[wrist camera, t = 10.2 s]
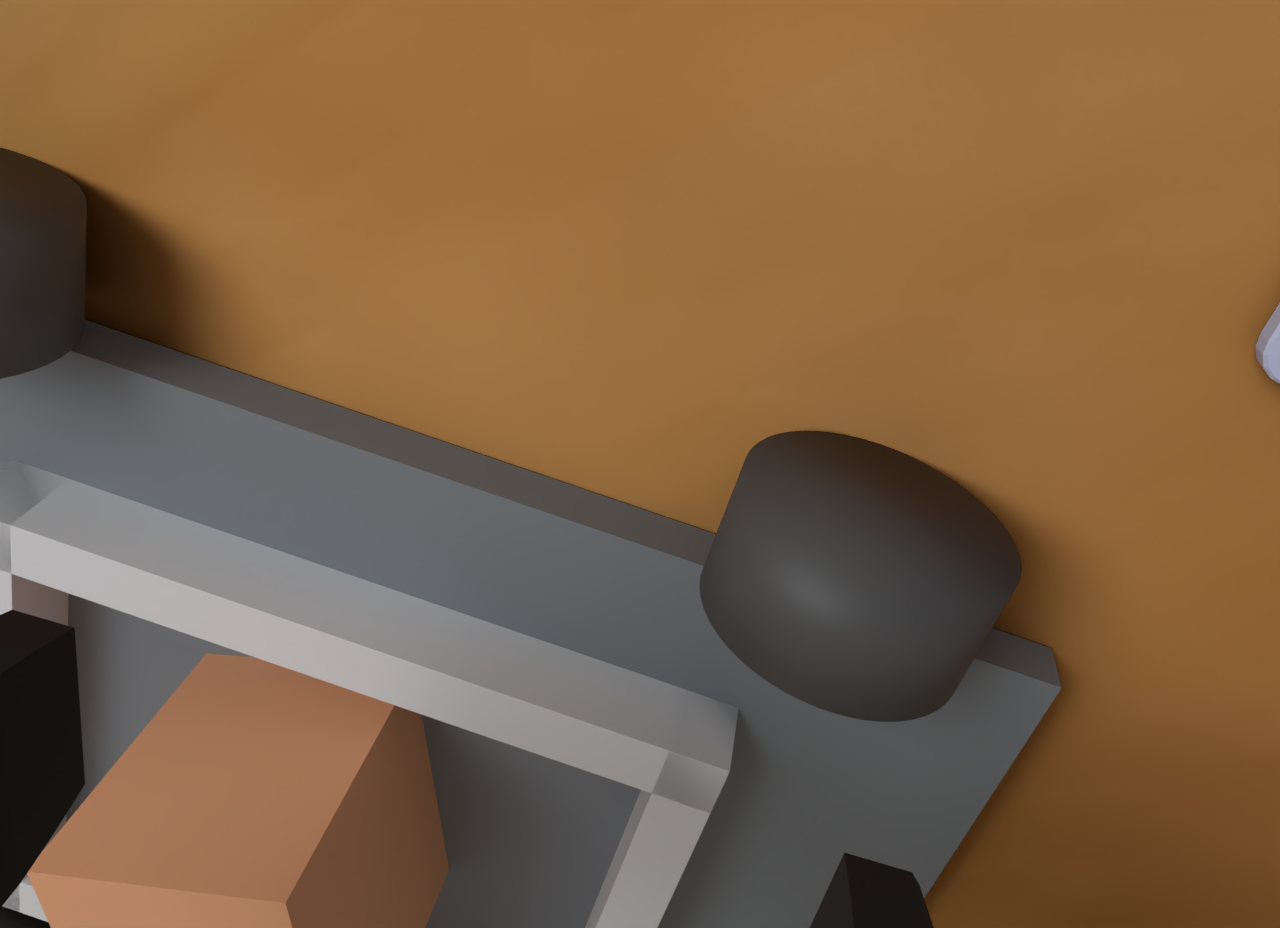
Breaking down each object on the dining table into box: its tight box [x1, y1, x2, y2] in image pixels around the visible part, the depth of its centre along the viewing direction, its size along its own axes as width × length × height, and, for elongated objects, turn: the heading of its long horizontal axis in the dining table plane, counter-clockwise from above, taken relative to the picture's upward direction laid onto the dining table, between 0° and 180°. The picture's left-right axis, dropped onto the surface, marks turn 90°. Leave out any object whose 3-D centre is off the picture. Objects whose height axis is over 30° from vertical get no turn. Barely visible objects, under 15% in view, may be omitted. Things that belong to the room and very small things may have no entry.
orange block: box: [27, 653, 449, 928], centre depth 19 cm, size 4×5×5 cm
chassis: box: [0, 148, 1062, 928], centre depth 20 cm, size 22×20×4 cm
